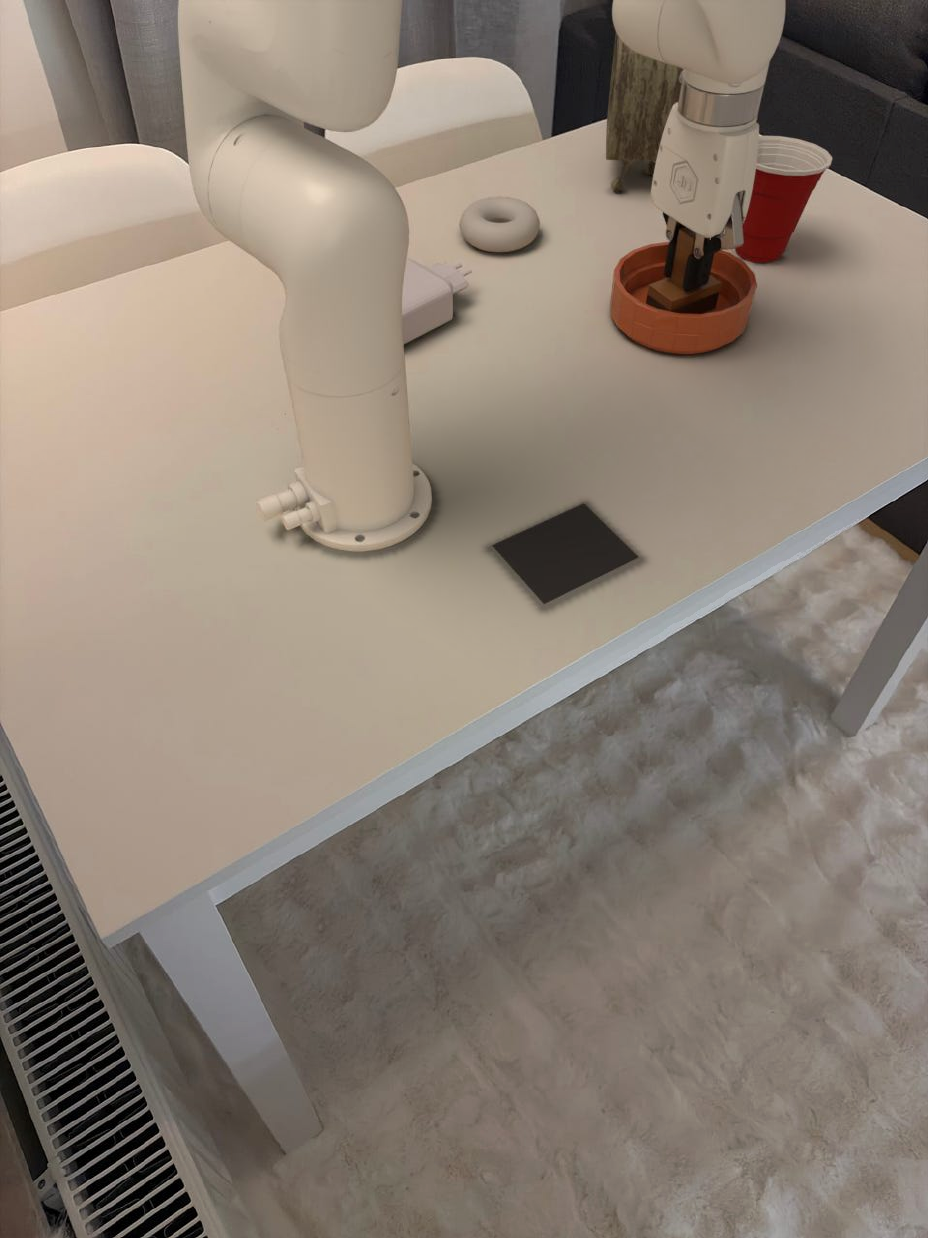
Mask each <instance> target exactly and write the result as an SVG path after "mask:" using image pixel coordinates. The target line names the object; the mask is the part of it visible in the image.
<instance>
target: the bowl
mask: <svg viewBox="0 0 928 1238" xmlns="http://www.w3.org/2000/svg"><path fill="white" fill-rule="evenodd" d="M669 242H670V241H663V242H656V243H648V244H646V245H644V246H641V247H638V248H635V249H632V250H631V251H629V252H628V253H627V254H625V255H624V256H622V257H621V258H620V259H619V260H618V262H617V264H616V266H615V267H614V269H613V273H612V274H613V276H612V284H611V292H610V299H609V300H610V301H609V311H610V312H609V314H610V317H611V319H612V320H613V322H614V323H615V325H616V327H617V328H618V329H619V330H620V331H622V333H624V335H626V336H627V337H628V339H629V338H630V339H631V340H632V341H634V342H635V343H637V344H639V345H641V346H643V347H646V348H648V349H651V350H654V351H657V352H663V353H669V354H676V355H677V354H678V355H694V354H703V353H707V352H711V351H714V350H717V349H719V348H722V347H724V346H726V345H728V344H730V343H733V342H734V341H735V340H736V339H737V338H738V337H740V336H741V335H742V334H743V333H744V332H745V330H746V327H747V325H748V323H749V319H750V316H751V311H752V308H753V303H754V300H755V297H756V296H755V295H756V292H757V288H758V284H757V279H756V275H755V273H754V271H753V270H752V269H751V268H750V266H749V265H748V264H747V263H746V262H745V261H743V260H742V259H740V258H739V257H737V256H736V255H734V254H733V253H731V252H729V251H727V250H720V251H719V252H716V253H714V257H713V262H712V267H711V272H710V275H711V276H713V277H714V278H716V279H717V280H719V281H720V282H721V287H720V291H719V296H718V300H717V305H716V308H715V309H712V310H710V311H707V312H705V313H702V314H683V313H675V312H670V311H665V310H661V309H657V308H654V307H652V306H650V305H647V304H646V299H647V294H648V287H649V284H652V283H654V282H657V281H660V280H662V279H665V278H667V277H665V276H664V269H665V263H666V257H667V251H668V245H669Z"/></svg>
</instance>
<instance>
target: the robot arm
mask: <svg viewBox="0 0 928 1238" xmlns="http://www.w3.org/2000/svg"><path fill="white" fill-rule="evenodd" d="M177 3H178V5H177V39H178V40H177V41H178V52H179V53H178V55H179V65H180V66H179V67H180V78H181V90H182V92H181V93H182V103H183V114H184V116H183V117H184V127H185V138H186V150H187V158H188V159H187V161H188V169H189V177H190V180H191V184H192V185H191V186H192V190H193V193H194V196H195V199H196V202H197V204H198V207H199V209H200V210H201V212H202V215H203V216H204V217H205V219H206V220H207V222H208V223H209V224H210V225H211V226H212V228H213V229H215V230H216V231H217V232H218V233H220V235H221V236H223V237H224V239H227V240H228V241H229V242H231V243H232V244H234V245H235V246H236V247H237V248H239V249H241V250H242V251H244V252H245V253H247V254H248V255H250V256H251V257H252V258H253V259H256V260H257V261H258V262H259V263H260V264H261V265H262V266H264V267H266V268H267V269H269V270H271V271H272V273H274V274H275V275H276V277H278V279H279V280H280V282H281V284H282V286H283V289H284V293H285V301H284V307H283V310H282V314H281V317H280V321H279V322H280V323H279V334H278V336H279V337H278V338H279V346H280V354H281V359H282V365H283V369H284V373H285V376H286V382H287V386H288V392H289V396H290V397H289V398H290V402H291V407H292V413H293V417H294V423H295V428H296V433H297V437H298V445H299V448H300V453H301V459H302V463H303V465H301V466H300V467H297V468H295V469H294V475H295V480H296V481H294V482H291V483H289V484H287V487H286V490H284V491H281V492H278V493H272V494H270V495H267V496H265V497H263V498H260V499H258V500H256V501H255V506H256V509H257V511H258V514H259V516H260V517H261V519H262V521H264V522H266V521H269V520H271V519H274V518H276V517H279V516H281V521H282V524H283V526H284V528H285V529H286V530H287V531H290V530H292V529H295V528H297V527H300V528H301V529H302V531H304V533H305V534H306V535H307V536H308V537H309V538H311V539H313V540H314V541H315V542H317V543H319V544H321V545H324V546H325V547H328V548H331V549H335V550H339V551H345V552H369V551H370V552H371V551H378V550H382V549H385V548H388V547H392V546H394V545H396V544H399V543H401V542H403V541H405V540H407V538H409V537H411V536H412V535H414V534H415V533H416V532H417V531H418V530H419V529H420V528H422V526H423V525H424V523H425V522H426V521H427V519H428V517H429V515H430V512H431V509H432V504H433V495H432V487H431V483H430V481H429V479H428V477H427V475H426V473H424V471H423V470H422V469H421V468H420V467H419V466H418V465H417V464H415V463H414V462H413V451H412V437H411V436H412V435H411V423H410V410H409V397H408V384H407V383H408V382H407V371H406V357H405V348H404V347H405V346H404V345H405V344H404V345H403V329H402V293H403V282H404V274H405V267H406V261H407V259H408V253H409V245H410V224H409V216H408V212H407V209H406V206H405V203H404V201H403V199H402V197H401V195H400V194H399V192H398V191H397V189H396V187H395V186H394V185H393V183H392V182H391V181H390V180H389V179H388V177H387V176H385V174H384V173H382V171H380V170H379V169H378V168H376V167H375V166H374V165H373V164H371V162H369V161H367V160H366V159H364V158H362V157H361V156H360V155H358V154H356V153H354V152H353V151H350V150H349V149H347V148H345V147H343V146H341V145H339V144H337V143H335V142H333V141H332V140H330V139H328V138H326V137H324V136H321V135H320V134H317V133H315V132H313V131H311V130H309V129H307V128H305V123H306V124H309V125H312V126H314V127H317V128H319V129H323V130H326V131H329V132H337V133H352V132H353V133H354V132H357V131H361V130H363V129H366V128H368V127H370V126H371V125H373V124H375V122H376V121H378V119H379V118H380V117H381V116H382V114H383V113H384V112H385V110H386V109H387V107H388V105H389V103H390V100H391V98H392V94H393V92H394V88H395V83H396V79H397V73H398V65H399V55H400V45H401V44H400V43H401V30H402V29H401V27H402V13H403V0H178V2H177ZM611 6H612V7H611V18H612V23H613V28H614V30H615V34H616V33H617V34H618V36H619V38H620V39H621V40H622V42H623V43H624V44H625V45H626V46H628V47H629V48H630V49H632V50H634V51H635V52H637V53H639V54H642V55H644V56H647V57H650V58H652V59H655V60H658V61H661V62H664V63H666V64H670V65H674V66H677V67H679V68H682V69H684V70H683V71H682V72H681V73H680V76H679V82H680V83H681V88H680V95H679V101H678V102H677V103H675V104H674V105H673V107H672V109H671V111H670V114H669V116H668V119H667V122H666V125H665V128H664V131H663V135H662V138H661V142H660V146H659V150H658V155H657V160H656V161H655V163H656V164H655V169H654V175H652V181H651V188H650V199H651V202H652V204H653V205H654V206H655V208H657V209H658V210H659V211H661V212H662V217H663V219H664V222H665V226H666V227H665V238H666V239H667V241H668V242H669V245H668V251H667V257H666V263H665V269H664V276H665V277H667V278H671V273H672V267H673V262H674V256H675V250H676V245H677V239H678V233H679V229H681V228H684V227H687V228H689V229H690V230H692V231H693V232H695V233H696V238H695V245H694V251H693V253H694V254H692V255H689V256H688V259H687V265H686V270H685V275H684V281H683V289H684V290H685V291H687V292H688V291H690V290H693V289H696V288H698V287H701V286H703V285H706V284H707V283H708V281H709V276H710V272H711V267H712V262H713V257H714V253H716V252H719V251H720V250H724V251H727V250H728V251H729V250H730V251H731V250H735V248H737V247H740V246H742V245H743V242H744V240H743V229H742V225H743V223H744V221H745V218H746V215H747V212H748V208H749V204H750V200H751V195H752V190H753V184H754V178H755V172H756V164H757V155H758V142H759V136H760V124H759V123H758V122H757V120H758V116H759V112H760V108H761V103H762V99H763V93H764V89H765V85H766V81H767V76H768V72H769V67H770V62H771V60H772V59H773V56H774V54H775V53H776V50H777V48H778V46H779V44H780V42H781V38H782V35H783V31H784V26H785V18H786V0H612V5H611ZM708 238H710V240H709V241H707V239H708ZM293 509H294V510H293ZM290 510H293V511H291V512H288V511H290ZM285 512H288V513H286V514H284V513H285Z"/></svg>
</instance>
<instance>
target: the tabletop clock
mask: <svg viewBox="0 0 928 1238" xmlns="http://www.w3.org/2000/svg"><path fill="white" fill-rule="evenodd" d="M614 37H615V38H614V46H613V54H612V55H613V56H612V65H611V73H610V85H609V93H608V105H607V116H606V131H605V132H606V133H605V134H606V135H605V158H606V161H623V164H622V167H621V170H620V172H619V174H618V175H619V176H618V177H616V178H614V179H613V180H612V182H611V183H610V187H611V190H612V191H613V192H615V193H618V192H620V191H622V190H623V189H624V186H625V184H624V181H623V179H624V177H625V175H626V173H627V172H628V170H629V168H630V167H631V166H632V164H634V163H635V162H648V163H647V165H646V167H645V171H646V174H648V175H650V176H653V175H654V169H655V164H656V160H657V155H658V150H659V146H660V142H661V138H662V135H663V131H664V128H665V125H666V122H667V119H668V116H669V114H670V111H671V109H672V107H673V105H674V104H675V103H677V102H678V101H679V95H680V88H681V83H680V82H679V76H680V73H681V72H682V71H683V70H684V69H682V68H679V67H677V66H674V65H670V64H666V63H664V62H661V61H658V60H655V59H652V58H650V57H647V56H644V55H642V54H639V53H637V52H635V51H634V50H632V49H630V48H629V47H628V46H626V45H625V44H624V43H623V42H622V40H621V39H620V38H619V36H618V34H617V33H616V32H615V36H614Z"/></svg>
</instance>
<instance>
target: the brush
mask: <svg viewBox="0 0 928 1238" xmlns="http://www.w3.org/2000/svg"><path fill="white" fill-rule="evenodd" d="M695 238H696V233H695V232H693V231H692V230H690V229H689V228H687V227H684V228H681V229H679V233H678V239H677V245H676V250H675V256H674V262H673V267H672V273H671V278H665V279H662V280H660V281H657V282H654V283H652V284H649V287H648V294H647V299H646V304H647V305H650V306H652V307H654V308H657V309H661V310H665V311H670V312H675V313H683V314H702V313H705V312H707V311H710V310H712V309H715V308H716V305H717V300H718V296H719V291H720V287H721V282H720V281H719V280H717V279H716V278H714V277H713V276H711V275H710V276H709V281H708V283H707V284H706V285H703V286H701V287H698V288H696V289H693V290H690V291H688V292H687V291H685V290H684V289H683V281H684V275H685V270H686V265H687V259H688V256H689V255H692V254H694V253H693V251H694V245H695ZM710 239H711V238H708V239H707V241H709V240H710Z"/></svg>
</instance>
